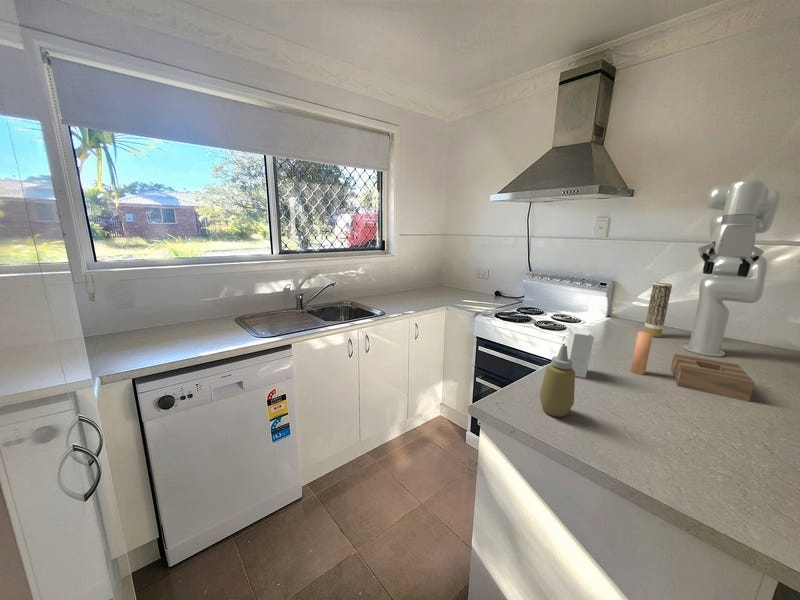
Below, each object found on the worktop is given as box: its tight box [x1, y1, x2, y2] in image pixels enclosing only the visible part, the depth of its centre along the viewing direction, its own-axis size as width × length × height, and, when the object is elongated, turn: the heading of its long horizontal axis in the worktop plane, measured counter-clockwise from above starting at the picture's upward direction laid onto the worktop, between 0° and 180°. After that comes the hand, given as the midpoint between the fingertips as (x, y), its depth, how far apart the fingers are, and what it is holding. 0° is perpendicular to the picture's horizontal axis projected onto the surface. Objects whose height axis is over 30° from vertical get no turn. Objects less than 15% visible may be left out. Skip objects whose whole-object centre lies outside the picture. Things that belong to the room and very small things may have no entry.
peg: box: [630, 330, 654, 376], centre depth 110 cm, size 4×4×14 cm
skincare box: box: [566, 325, 595, 379], centre depth 108 cm, size 8×6×15 cm
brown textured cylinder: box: [643, 282, 673, 338], centre depth 152 cm, size 7×7×25 cm
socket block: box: [670, 352, 755, 402], centre depth 104 cm, size 16×16×6 cm
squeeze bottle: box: [539, 344, 576, 418], centre depth 83 cm, size 8×8×18 cm
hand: (724, 275), depth 107 cm, fingers open, 9 cm apart
